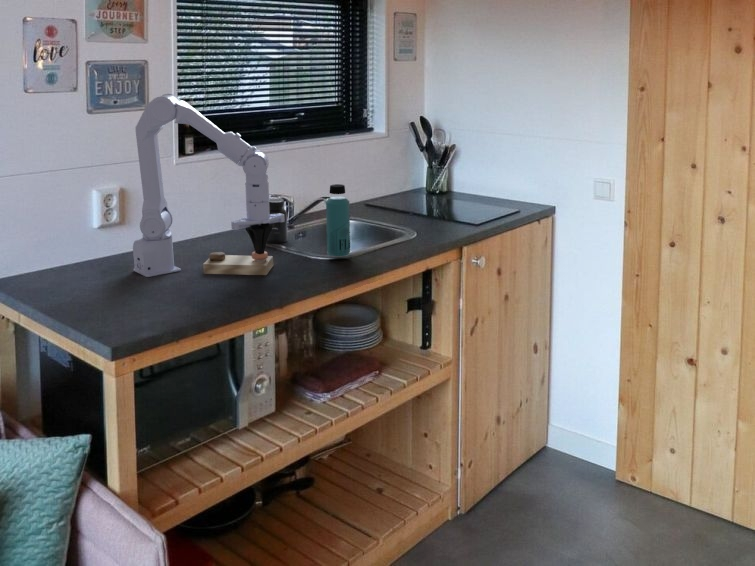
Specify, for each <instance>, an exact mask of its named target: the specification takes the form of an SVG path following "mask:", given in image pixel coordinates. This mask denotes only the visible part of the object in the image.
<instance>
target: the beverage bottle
mask: <svg viewBox="0 0 755 566" xmlns="http://www.w3.org/2000/svg"><path fill="white" fill-rule="evenodd" d="M329 194H331V195H335V196H330V197H329V198H328V199H327V200H326V201H325V206H326V207H325V208H326V210H325V211H326V212H325V213H326V219H325V220H326V243H325V244H326V253H327V255H329V256H331V257H345V256H349V255H350V253H351V234H350V233H351V228H350V227H351V215H350V201H349V200H348V198H346V197H345V196H339V195H344V194H346V186H345V185H344V184H331V185H329ZM336 195H338V196H336Z"/></svg>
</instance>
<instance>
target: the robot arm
mask: <svg viewBox="0 0 755 566" xmlns="http://www.w3.org/2000/svg"><path fill="white" fill-rule="evenodd" d="M174 120H175V121H174ZM172 121H174V123H175V124H178V125H179V124H181V125H182V124H183V125H189V126H191V127H192V128H193V129H196V131H198V132H200V133H201V134H202V135H204V136H205V137H207V138H208V139H210V140H211V141H212V142H214V143H216V146H217V147H216V148H217V151H218V152H219V153H221V154H222V155H224V156H225V157H226V158H228V159H229V160H230V161H232V162H233V163H234V164H235V165H237V166H238V167H242V170H243V172H244V174H245V184H244V185H245V202H246V203H245V206H246V207H245V208H246V217H243V218H239V219H235V220H232V221H231V230H234V231H238V230H241V229H245V230H246V232H247V234H248V236H249V238H250V240H251V242H252V245H253V248H254V252H255V253H257V254H264V251H265V249H266V246H267V239H268V237H269V234H270V233H271V231H272V226H271V225H269V224H270V223H276V222H285V219H284V214H281V213H279V214H270V211H269V199H270V190H269V189H270V188H269V187H270V185H269V176H268V168H269V163H270V162H269V159H268V156H267V155H266V154H265V152H264V151H262V150H259V149H258V148H257V147H256V146H255V145H253V146H252V145H250V144H249V143H248V142H246V141H245V140H244V139H242V138H241V137H242V135H241V134H240V133H238V132H236V133H234V132H233V131H226V132H224V131H223V130H222V129H220V128H219V127H218V126H217V125H216V124H214V123H213V122H212V121H211V120H210V119H208V118H206V116H204V114H202V113H201V112H199V111H198V110H197V109H196V108H194V107H193V106H192V105H190V104H189V103H188V102H187V101H185V100H183V99H180V98H179V97H178V96H176V95H175V94H173V93H165V94H162V95H160V96H156V97H154V98H153V99H152V100H151V101H149V102H148V103H147V104H146V105H145V106H144V110H143V112H142V114H141V116H140V118H139V120H138V121H137V124H136V126H135V139H136V146H137V154H138V163H139V172H140V179H141V188H142V197H143V201H142V207H141V214H142V215H141V219H140V222H139V229H140V232H141V234H142V237H141V238H139V239H136V240H134V241H133V243H132V256H133V266H134V268H133V271H134V272H135V273H138V274H140V275H142V276H143V277H145V278H149V277H156V276H160V275H166V274H171V273H175V272H180V271H181V270H182V269H181V268H180V267H178V266H177V265H175V260H174V259H175V258H174V245H173V244H174V243H173V242H174V241H173V233H172V231H171V230H170V228H171V226H172V224H173V215H172V213H171V211H170V210H169V207H168V201H167V200H166V197H165V193H164V183H163V176H162V173H163V172H162V165H161V156H160V149H159V139H158V135H159V133H160V132H161V130H163V129H164V128H165V127H166V125H167V124H168V123H170V122H172ZM265 252H266V251H265Z"/></svg>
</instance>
